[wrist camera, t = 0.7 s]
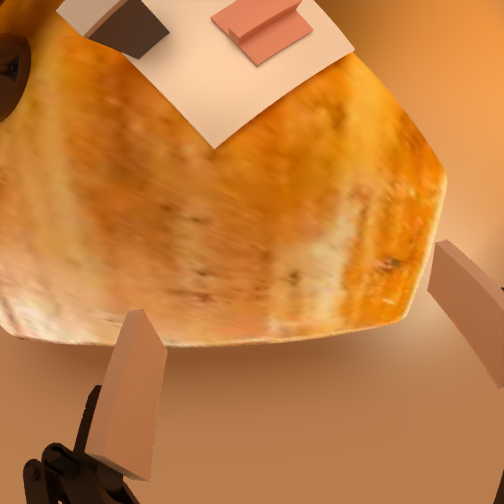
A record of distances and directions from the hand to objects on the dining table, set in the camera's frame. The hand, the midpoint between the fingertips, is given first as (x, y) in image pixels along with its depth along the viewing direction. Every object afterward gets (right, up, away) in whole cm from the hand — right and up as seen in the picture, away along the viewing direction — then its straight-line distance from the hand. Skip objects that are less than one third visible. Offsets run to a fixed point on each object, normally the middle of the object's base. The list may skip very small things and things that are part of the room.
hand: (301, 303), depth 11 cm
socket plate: (-5, +27, +14) cm, 31 cm away
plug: (-14, +25, +10) cm, 31 cm away
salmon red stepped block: (-1, +26, +10) cm, 28 cm away
